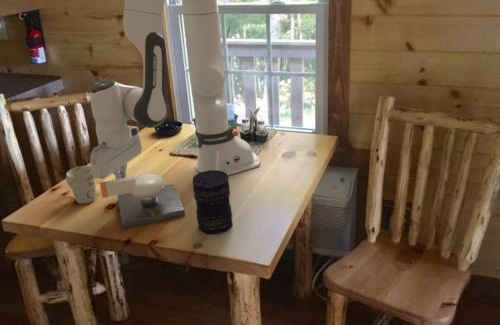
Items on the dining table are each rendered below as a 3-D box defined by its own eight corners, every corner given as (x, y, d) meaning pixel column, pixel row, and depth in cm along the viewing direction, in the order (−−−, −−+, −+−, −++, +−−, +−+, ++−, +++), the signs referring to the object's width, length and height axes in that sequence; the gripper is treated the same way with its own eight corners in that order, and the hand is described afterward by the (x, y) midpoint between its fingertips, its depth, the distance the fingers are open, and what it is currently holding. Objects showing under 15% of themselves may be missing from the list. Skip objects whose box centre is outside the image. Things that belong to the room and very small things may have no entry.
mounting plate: (174, 189, 163) (172, 173, 160) (185, 215, 147) (182, 198, 144) (118, 200, 158) (114, 184, 156) (123, 228, 142) (119, 211, 140)
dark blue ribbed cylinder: (211, 213, 147) (205, 167, 141) (239, 220, 142) (235, 173, 136) (191, 230, 139) (184, 182, 133) (220, 238, 135) (215, 189, 128)
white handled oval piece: (161, 180, 156) (159, 165, 153) (166, 194, 147) (164, 179, 145) (102, 191, 151) (99, 177, 149) (104, 207, 142) (100, 191, 140)
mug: (85, 208, 155) (78, 179, 151) (58, 199, 161) (51, 171, 157) (105, 196, 161) (99, 168, 157) (79, 188, 168) (72, 161, 164)
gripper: (99, 151, 137) (108, 196, 142) (141, 125, 154) (148, 166, 159) (80, 149, 139) (90, 193, 145) (124, 124, 156) (132, 164, 162)
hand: (121, 178), depth 152 cm, fingers closed
